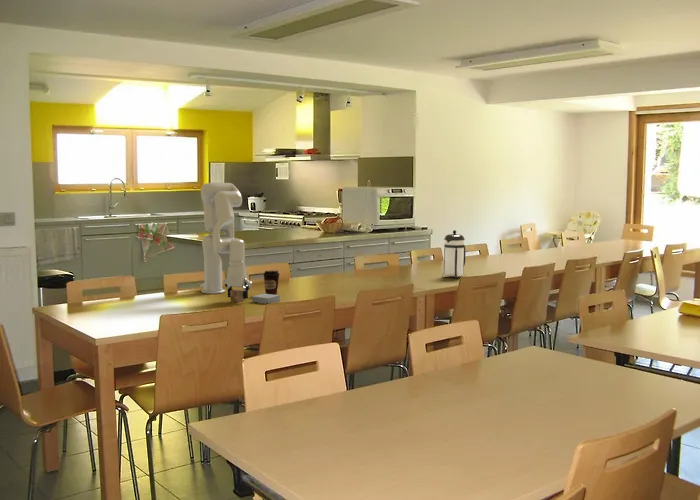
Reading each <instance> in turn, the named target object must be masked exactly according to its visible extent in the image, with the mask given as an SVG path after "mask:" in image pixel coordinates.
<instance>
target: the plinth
mask: <svg viewBox="0 0 700 500" xmlns="http://www.w3.org/2000/svg"><path fill="white" fill-rule="evenodd" d="M251 300H252V301H251V303H254V302H257V303H256V304H263V303H264V304H265V305H268V304H267V303H271V304H274V303H273V302H275V303H278V302H280V301H281V295H279V294H278V295H272V294H265V293H260V294H256V295H252V297H251Z"/></svg>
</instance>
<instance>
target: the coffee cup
mask: <svg viewBox="0 0 700 500" xmlns="http://www.w3.org/2000/svg"><path fill="white" fill-rule="evenodd" d="M263 278H264V279H263V283H264V291H265V293H264V294H272V295H279V294H278V288H279V279H280V272H279V270H275V269H274V270H273V269H272V270H265V271H264V273H263Z"/></svg>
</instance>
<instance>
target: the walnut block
mask: <svg viewBox="0 0 700 500" xmlns="http://www.w3.org/2000/svg"><path fill="white" fill-rule="evenodd" d="M243 291H244V290H243V289H237V288H236V289H233V290H231V291H230V297H229V298H230V303H233V302H236V303H235V304H240V303H239V302H241V303H244V302H243V301H245V299H243Z"/></svg>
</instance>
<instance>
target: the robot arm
mask: <svg viewBox="0 0 700 500" xmlns="http://www.w3.org/2000/svg"><path fill="white" fill-rule="evenodd" d="M239 190H240V189H238V188H237V186H235V184H233V183H231V182H206V183H204V184H203V185H202V186H201V188H200V195H201V196H200V198H201V201H202V203H203V212H204V213H203V215H204V216H203V217H204V220H203V221H204V222H203V223H204V229H205V230H206V232H209V233H211V234H207V235H205V236H203V238H202V239H201V240H202V241H201V244H202V245H201V246H202V251H203V265H204V266H203V267H204V268H203V269H204V273H203V274H204V275H203V279H204V283H201V284H199V287H200V288H202V289H201V293H203V294H208V295H210V294H211V295H212V294H213V295H214V294H222V293H225V292H226V290H227V298H230V291H231V290H234V289H233V288H242V290H244V291H243V299H248V298H249V297H248V296H249V290H250V289H251V286H252V284H253V282H252V281H251V280H249V279H248V272H247V267H246V262H245V261H246V259H245V258H246V257H245V256H246V253H245V241H244V240H243V239H240V238H237V237H235V213H234V208H239V207H241V206H242V203H243V196H242V194H241V192H240V191H239ZM221 232H223V233H221ZM219 254H229V261H228V265H229V266H228V269H227V274H226V278H225V279H223V260H222V257H221V256H220V255H219ZM223 283H224V286H225V288H226V289H225V288H223Z"/></svg>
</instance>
